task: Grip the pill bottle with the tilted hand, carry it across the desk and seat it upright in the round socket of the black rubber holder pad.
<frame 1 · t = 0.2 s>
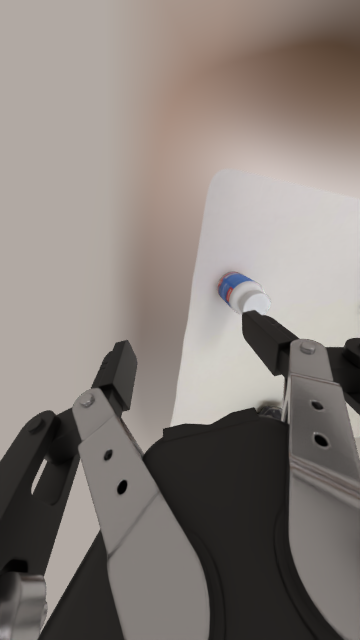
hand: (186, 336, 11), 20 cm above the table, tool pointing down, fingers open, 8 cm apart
pill bottle: (229, 285, 31), on the table
camera: (262, 412, 54), on the table
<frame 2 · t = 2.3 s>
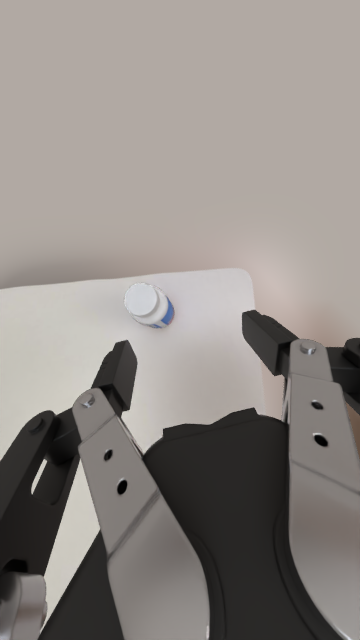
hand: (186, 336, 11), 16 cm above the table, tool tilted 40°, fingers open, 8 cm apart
pill bottle: (159, 313, 28), on the table
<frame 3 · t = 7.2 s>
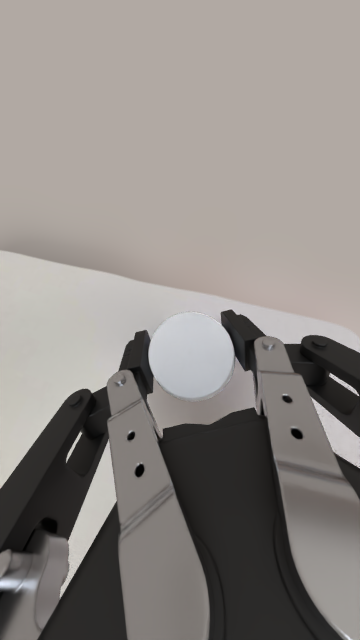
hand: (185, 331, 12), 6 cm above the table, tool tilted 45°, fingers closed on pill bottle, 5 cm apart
pill bottle: (191, 358, 17), on the table, touching gripper
when the fingers open (6 cm above the table, at t = 18.4 s): pill bottle stays where it is, resting in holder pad.
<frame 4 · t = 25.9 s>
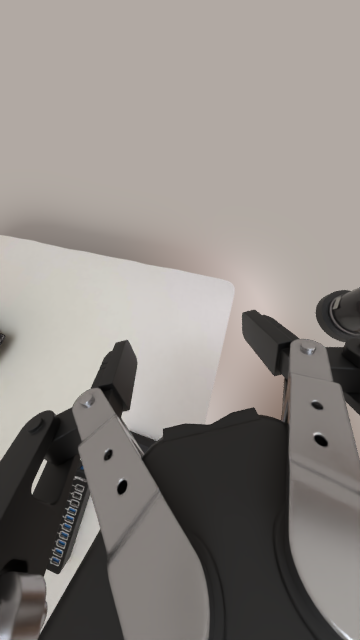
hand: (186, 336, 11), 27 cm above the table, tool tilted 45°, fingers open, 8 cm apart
multiport hub: (75, 505, 31), on the table
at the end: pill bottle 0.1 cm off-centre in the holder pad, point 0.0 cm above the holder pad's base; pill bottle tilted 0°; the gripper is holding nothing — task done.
